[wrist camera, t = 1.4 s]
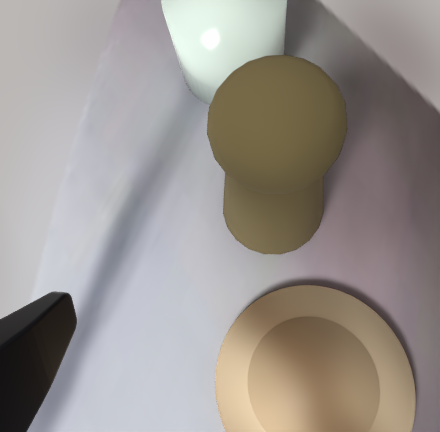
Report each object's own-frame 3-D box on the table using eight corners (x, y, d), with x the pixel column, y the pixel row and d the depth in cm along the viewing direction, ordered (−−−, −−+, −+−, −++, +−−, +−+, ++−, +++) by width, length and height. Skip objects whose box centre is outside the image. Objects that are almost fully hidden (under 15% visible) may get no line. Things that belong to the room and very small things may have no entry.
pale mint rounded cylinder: (234, 127, 25) (225, 66, 20) (163, 71, 27) (136, 1, 22) (304, 58, 26) (314, -19, 21) (230, 9, 28) (221, -74, 23)
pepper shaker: (293, 145, 24) (312, 1, 14) (342, 226, 22) (407, 130, 12) (207, 186, 24) (162, 70, 14) (249, 272, 22) (234, 213, 12)
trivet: (324, 546, 18) (326, 552, 17) (178, 383, 21) (176, 384, 20) (453, 381, 19) (458, 382, 19) (299, 250, 22) (300, 248, 22)
